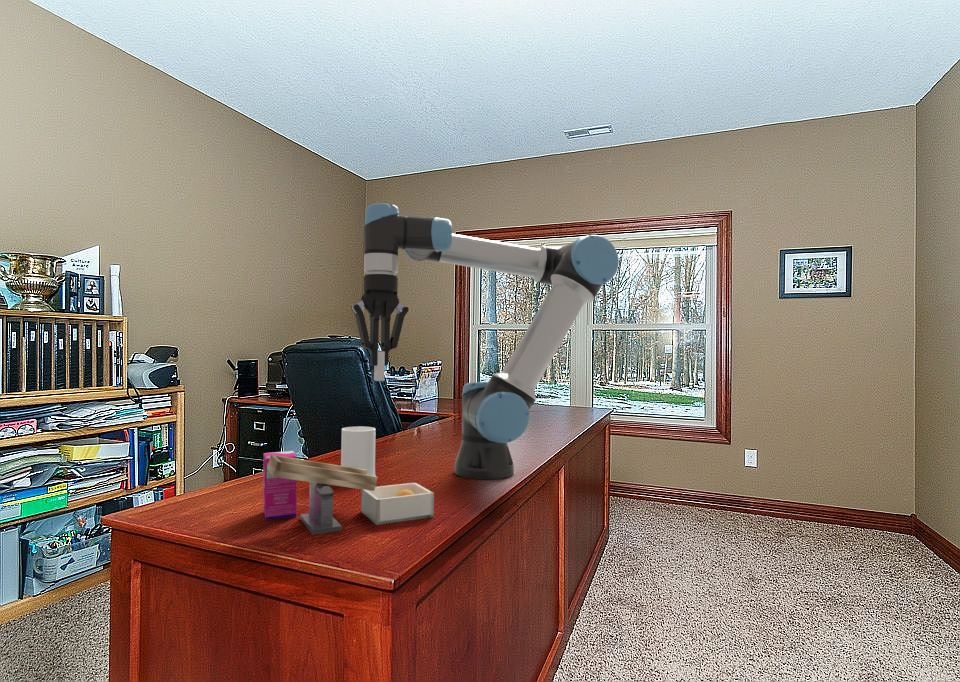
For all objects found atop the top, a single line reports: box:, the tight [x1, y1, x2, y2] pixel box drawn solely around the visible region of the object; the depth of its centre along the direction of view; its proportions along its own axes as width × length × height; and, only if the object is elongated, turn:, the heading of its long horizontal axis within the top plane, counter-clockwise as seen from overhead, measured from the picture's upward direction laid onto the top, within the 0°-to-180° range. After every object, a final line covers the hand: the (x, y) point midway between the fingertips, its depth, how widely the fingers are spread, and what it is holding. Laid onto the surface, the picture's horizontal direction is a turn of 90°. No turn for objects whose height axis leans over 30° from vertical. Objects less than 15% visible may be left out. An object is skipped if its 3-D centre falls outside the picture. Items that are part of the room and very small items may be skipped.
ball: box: [396, 489, 415, 497], centre depth 111 cm, size 4×4×4 cm
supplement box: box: [262, 450, 298, 521], centre depth 109 cm, size 6×6×12 cm
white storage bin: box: [360, 482, 435, 526], centre depth 110 cm, size 11×9×4 cm
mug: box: [340, 425, 377, 477], centre depth 141 cm, size 12×8×12 cm
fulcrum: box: [299, 482, 343, 536], centre depth 103 cm, size 5×10×8 cm, turn 29°
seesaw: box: [267, 455, 379, 491], centre depth 106 cm, size 18×13×2 cm
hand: (379, 380), depth 128 cm, fingers closed
